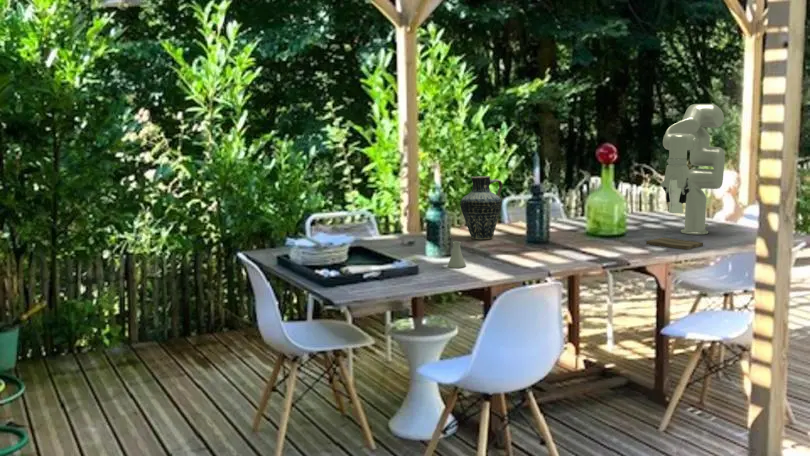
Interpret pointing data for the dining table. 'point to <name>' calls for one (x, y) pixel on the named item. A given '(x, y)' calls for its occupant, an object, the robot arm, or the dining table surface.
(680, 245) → the serving board
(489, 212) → the jug
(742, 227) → the dining table surface
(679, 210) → the beer glass
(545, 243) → the dining table surface
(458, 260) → the flask
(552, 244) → the dining table surface
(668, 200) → the robot arm
